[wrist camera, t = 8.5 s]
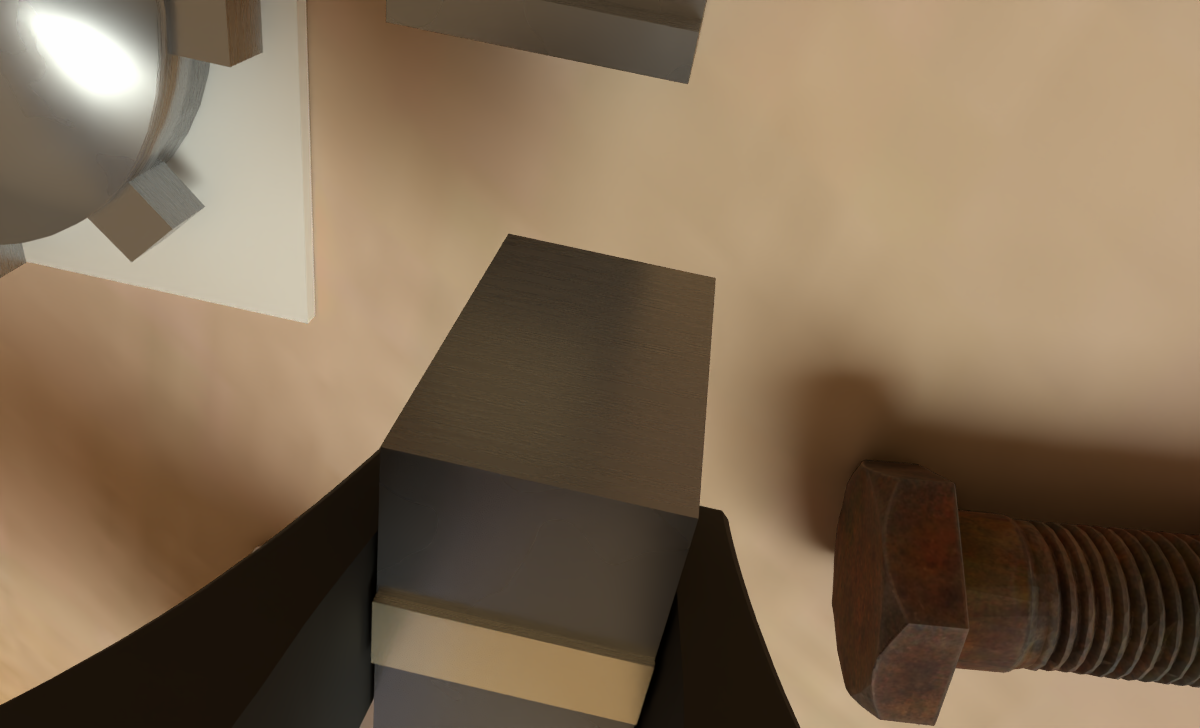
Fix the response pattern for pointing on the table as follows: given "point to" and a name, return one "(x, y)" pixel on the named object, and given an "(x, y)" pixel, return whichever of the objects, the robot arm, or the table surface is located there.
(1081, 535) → the dark brown lumpy bar
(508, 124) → the table surface
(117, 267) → the board
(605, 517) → the banded grey block
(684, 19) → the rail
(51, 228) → the sprocket
